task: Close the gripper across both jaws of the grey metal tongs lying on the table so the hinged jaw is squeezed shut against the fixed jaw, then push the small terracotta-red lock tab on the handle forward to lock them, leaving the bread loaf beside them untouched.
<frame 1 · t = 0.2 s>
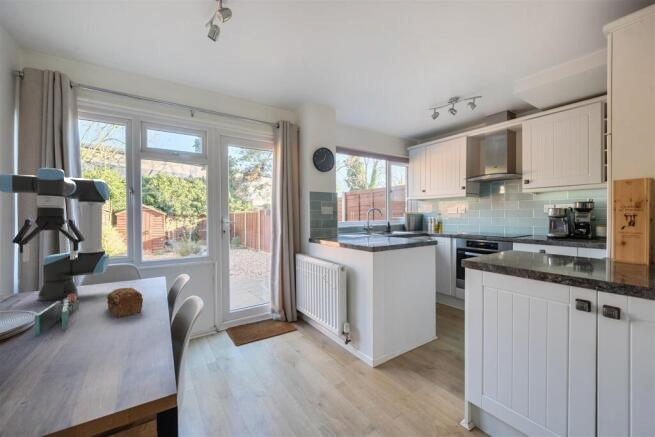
hand: (50, 260, 106), 26 cm above the table, fingers open, 13 cm apart
lock tab: (71, 297, 123), point 6 cm above the table, slide at 0.0 cm
jaw: (65, 312, 109), point 4 cm above the table, hinge at 15.0°
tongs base: (67, 315, 117), on the table
bread: (124, 311, 123), on the table
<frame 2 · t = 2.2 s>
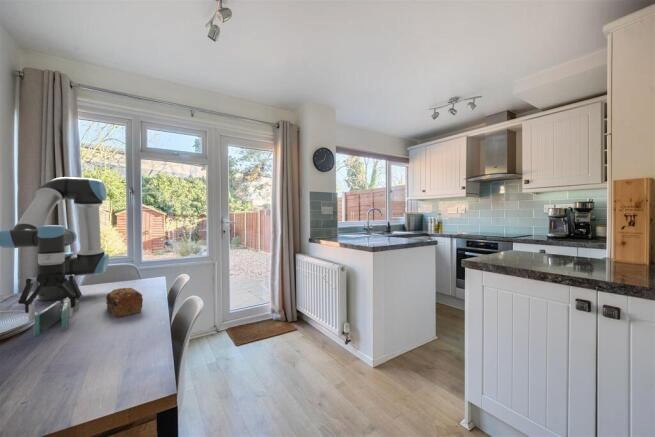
hand: (51, 317, 107), 2 cm above the table, fingers open, 11 cm apart
jaw: (65, 312, 109), point 4 cm above the table, hinge at 14.7°, touching gripper
everything else where it was.
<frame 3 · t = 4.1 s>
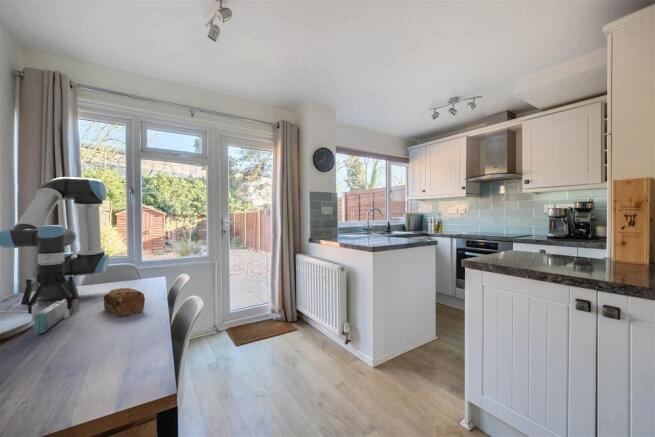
hand: (51, 319, 107), 2 cm above the table, fingers open, 9 cm apart
jaw: (56, 313, 108), point 4 cm above the table, hinge at -0.5°
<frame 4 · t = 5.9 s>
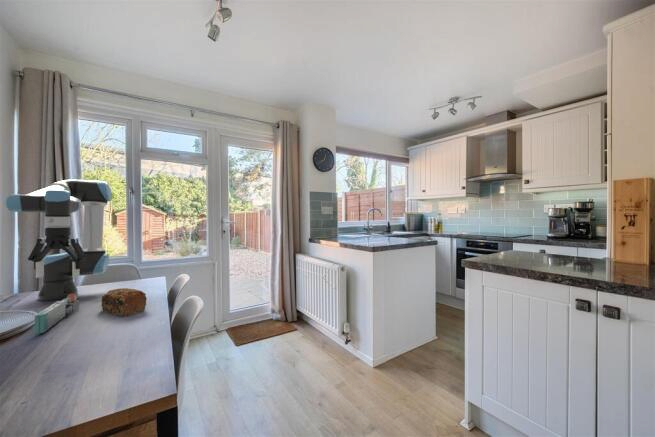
hand: (58, 276, 112), 18 cm above the table, fingers open, 13 cm apart
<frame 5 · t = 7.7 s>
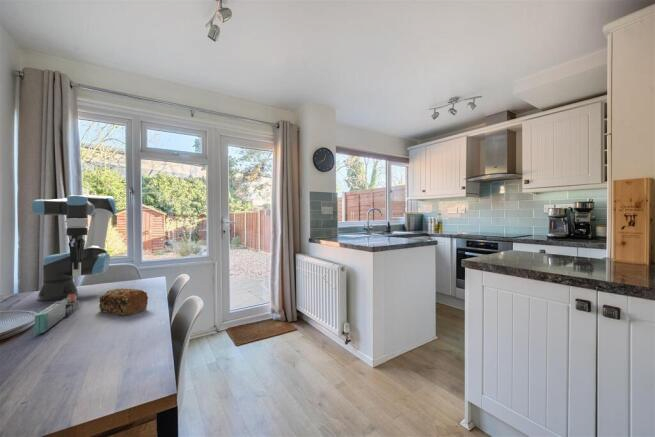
hand: (76, 275, 129), 15 cm above the table, fingers closed
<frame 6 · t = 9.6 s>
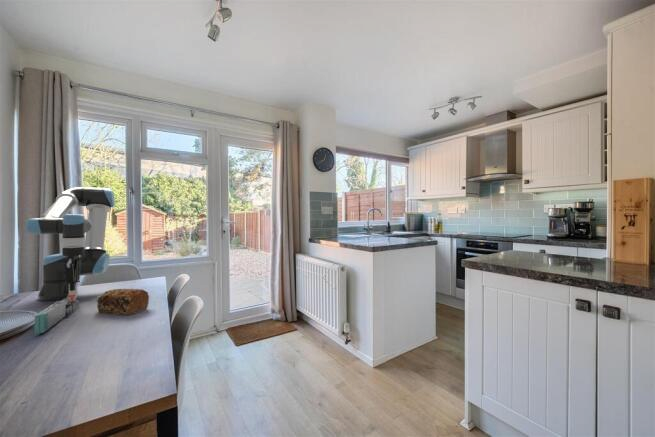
hand: (73, 296, 125), 6 cm above the table, fingers closed
lock tab: (71, 297, 123), point 6 cm above the table, slide at 0.3 cm, touching gripper
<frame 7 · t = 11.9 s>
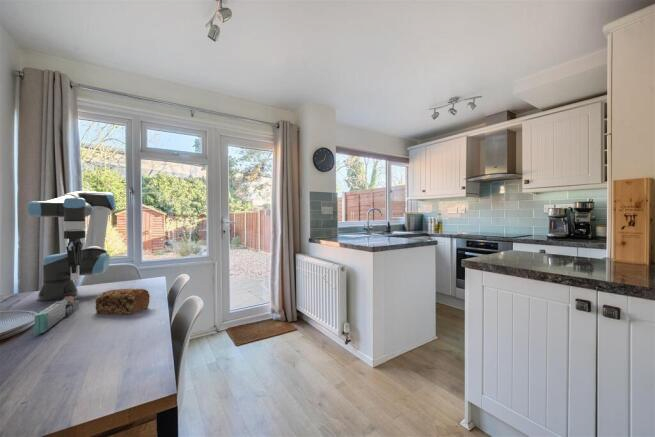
hand: (75, 279, 127), 13 cm above the table, fingers closed
lock tab: (68, 299, 120), point 6 cm above the table, slide at 3.5 cm
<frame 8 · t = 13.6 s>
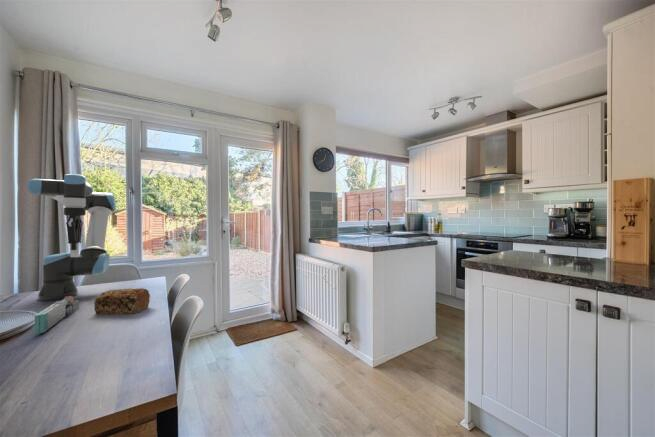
hand: (74, 256, 126), 24 cm above the table, fingers closed
at the end: jaw at +0° (first picture: +15°); lock tab slide at 3.5 cm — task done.
